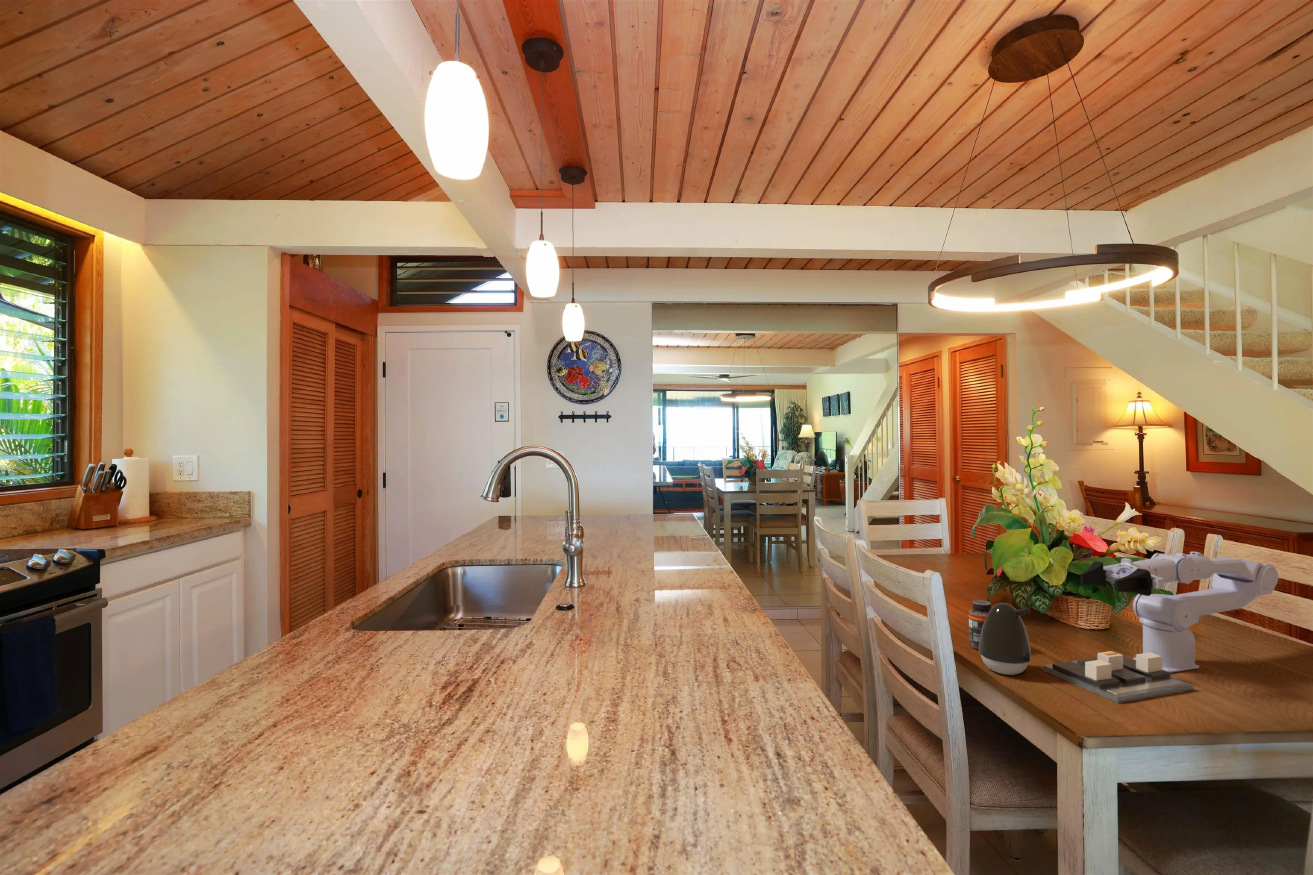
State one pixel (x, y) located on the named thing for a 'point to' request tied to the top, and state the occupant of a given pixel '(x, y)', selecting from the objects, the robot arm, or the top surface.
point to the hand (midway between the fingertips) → (1098, 582)
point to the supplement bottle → (977, 621)
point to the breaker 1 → (1098, 670)
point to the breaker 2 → (1149, 662)
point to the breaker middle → (1112, 659)
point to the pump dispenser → (1005, 640)
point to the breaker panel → (1120, 681)
